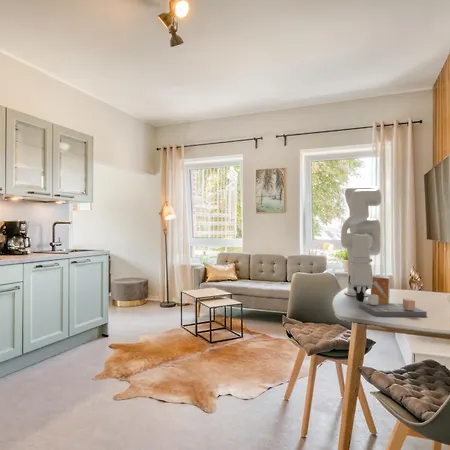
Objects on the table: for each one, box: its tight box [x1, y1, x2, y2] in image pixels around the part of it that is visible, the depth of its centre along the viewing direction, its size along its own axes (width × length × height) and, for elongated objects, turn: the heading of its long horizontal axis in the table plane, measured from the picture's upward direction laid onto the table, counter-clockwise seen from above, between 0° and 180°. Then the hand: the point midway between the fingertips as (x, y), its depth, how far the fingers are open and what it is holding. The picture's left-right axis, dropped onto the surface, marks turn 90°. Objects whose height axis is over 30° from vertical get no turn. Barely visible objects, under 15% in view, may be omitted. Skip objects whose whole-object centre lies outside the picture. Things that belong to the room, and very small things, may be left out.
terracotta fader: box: [402, 298, 416, 310], centre depth 152 cm, size 4×3×4 cm
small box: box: [370, 275, 391, 303], centre depth 176 cm, size 8×6×13 cm
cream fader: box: [367, 293, 378, 305], centre depth 162 cm, size 4×3×4 cm
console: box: [358, 302, 428, 317], centre depth 157 cm, size 16×22×2 cm
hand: (360, 301), depth 161 cm, fingers closed
